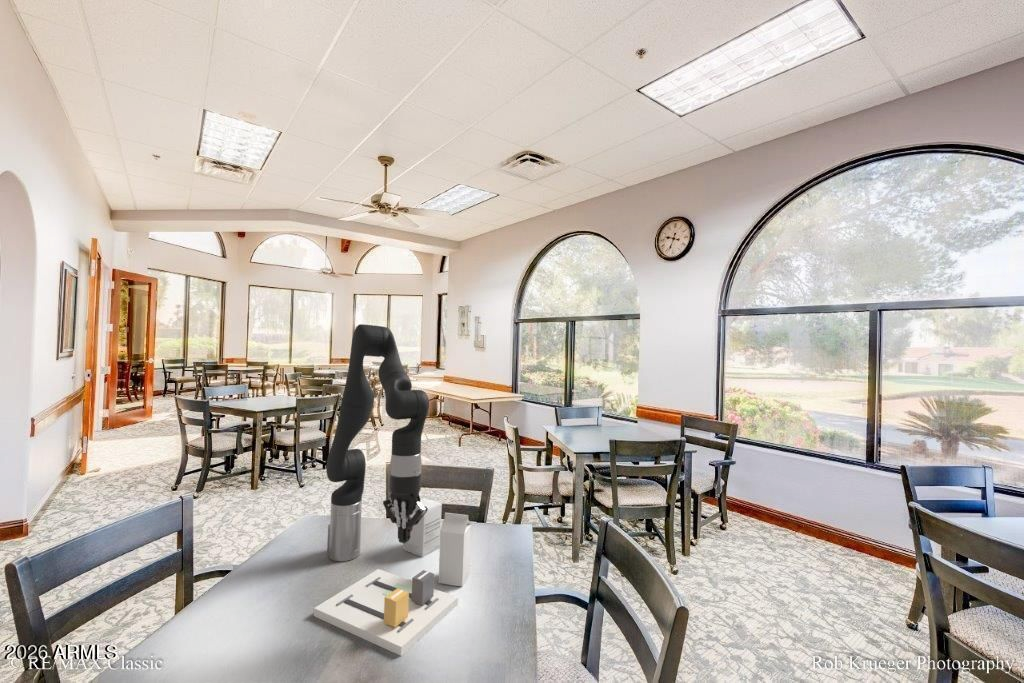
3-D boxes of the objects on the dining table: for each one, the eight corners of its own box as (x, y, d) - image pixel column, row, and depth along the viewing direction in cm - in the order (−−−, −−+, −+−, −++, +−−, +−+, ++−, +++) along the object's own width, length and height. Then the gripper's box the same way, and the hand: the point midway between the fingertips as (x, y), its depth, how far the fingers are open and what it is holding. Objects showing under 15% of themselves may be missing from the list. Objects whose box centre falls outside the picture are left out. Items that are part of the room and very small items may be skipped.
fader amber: (383, 622, 105) (384, 596, 105) (396, 612, 109) (397, 587, 109) (395, 627, 103) (396, 601, 103) (408, 617, 107) (408, 591, 107)
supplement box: (401, 550, 146) (403, 504, 146) (420, 540, 154) (422, 496, 154) (422, 557, 142) (424, 510, 142) (441, 547, 149) (442, 502, 149)
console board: (313, 616, 110) (314, 606, 110) (378, 575, 130) (378, 568, 130) (401, 656, 98) (401, 645, 98) (457, 604, 117) (458, 596, 117)
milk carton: (462, 587, 126) (464, 520, 126) (438, 583, 127) (440, 517, 127) (469, 574, 133) (471, 510, 133) (447, 571, 134) (449, 508, 134)
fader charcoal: (411, 601, 114) (412, 577, 114) (422, 592, 118) (423, 569, 118) (422, 605, 112) (423, 581, 112) (433, 596, 116) (434, 573, 116)
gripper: (374, 470, 110) (373, 541, 110) (416, 479, 103) (414, 554, 103) (396, 463, 116) (394, 530, 116) (436, 471, 110) (434, 542, 110)
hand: (404, 541), depth 110 cm, fingers closed
